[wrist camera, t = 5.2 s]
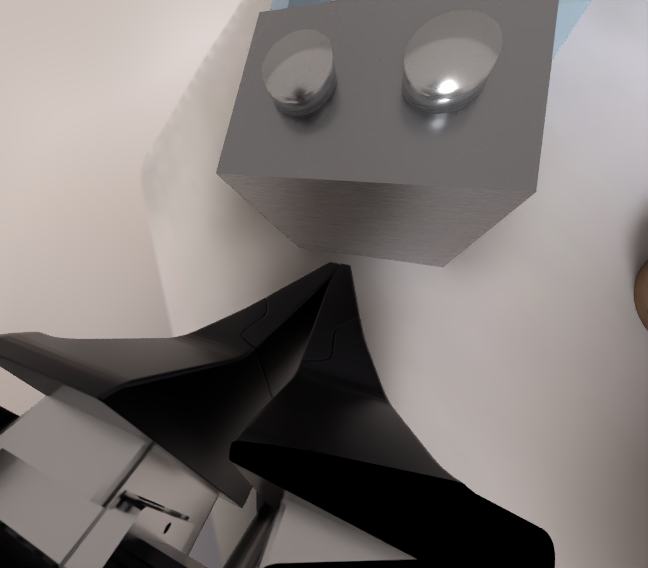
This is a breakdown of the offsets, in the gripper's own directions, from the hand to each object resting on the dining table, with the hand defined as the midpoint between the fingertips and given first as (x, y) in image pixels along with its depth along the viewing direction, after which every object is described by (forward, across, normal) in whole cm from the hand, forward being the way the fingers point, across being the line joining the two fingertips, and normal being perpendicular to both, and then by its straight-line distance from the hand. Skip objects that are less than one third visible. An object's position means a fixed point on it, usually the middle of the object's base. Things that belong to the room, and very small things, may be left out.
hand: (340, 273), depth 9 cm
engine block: (+11, 0, -2) cm, 11 cm away
